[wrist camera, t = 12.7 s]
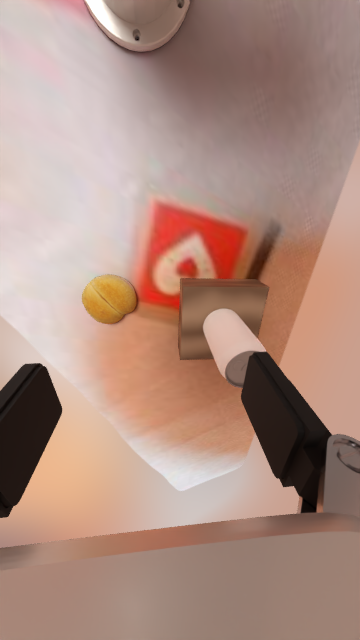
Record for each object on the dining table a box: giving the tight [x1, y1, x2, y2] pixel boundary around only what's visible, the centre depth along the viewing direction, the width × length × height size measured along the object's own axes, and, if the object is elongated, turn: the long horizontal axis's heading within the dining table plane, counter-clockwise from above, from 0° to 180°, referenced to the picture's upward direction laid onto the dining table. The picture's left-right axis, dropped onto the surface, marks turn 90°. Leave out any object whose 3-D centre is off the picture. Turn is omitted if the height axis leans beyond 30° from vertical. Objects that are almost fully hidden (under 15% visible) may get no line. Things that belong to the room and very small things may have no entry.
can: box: [203, 309, 267, 388], centre depth 30 cm, size 6×6×12 cm
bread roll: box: [82, 275, 136, 324], centre depth 35 cm, size 8×9×4 cm
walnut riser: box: [178, 278, 269, 360], centre depth 38 cm, size 14×14×5 cm
